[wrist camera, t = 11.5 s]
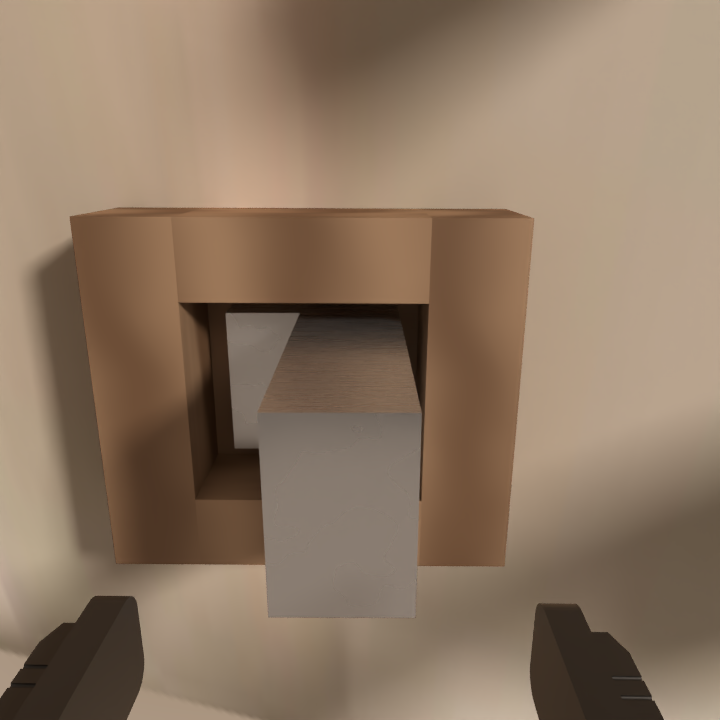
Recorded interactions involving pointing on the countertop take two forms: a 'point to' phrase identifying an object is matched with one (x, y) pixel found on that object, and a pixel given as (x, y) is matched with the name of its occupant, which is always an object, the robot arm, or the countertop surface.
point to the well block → (296, 287)
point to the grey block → (331, 454)
